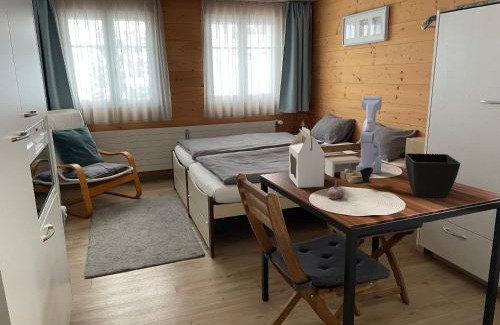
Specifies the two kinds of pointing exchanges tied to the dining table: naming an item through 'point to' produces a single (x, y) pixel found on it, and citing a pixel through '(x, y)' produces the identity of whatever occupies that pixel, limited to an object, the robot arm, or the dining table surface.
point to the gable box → (306, 161)
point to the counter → (340, 164)
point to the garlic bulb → (335, 192)
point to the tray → (351, 176)
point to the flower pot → (431, 174)
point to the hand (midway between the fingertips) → (365, 182)
